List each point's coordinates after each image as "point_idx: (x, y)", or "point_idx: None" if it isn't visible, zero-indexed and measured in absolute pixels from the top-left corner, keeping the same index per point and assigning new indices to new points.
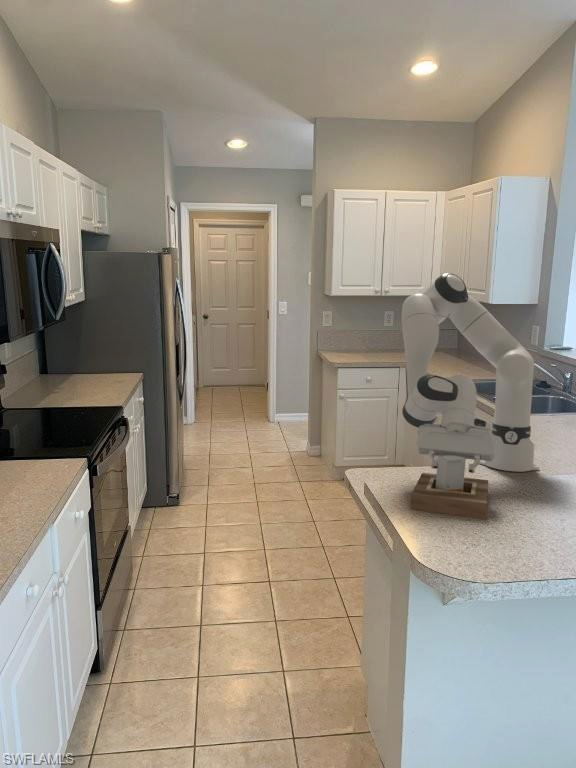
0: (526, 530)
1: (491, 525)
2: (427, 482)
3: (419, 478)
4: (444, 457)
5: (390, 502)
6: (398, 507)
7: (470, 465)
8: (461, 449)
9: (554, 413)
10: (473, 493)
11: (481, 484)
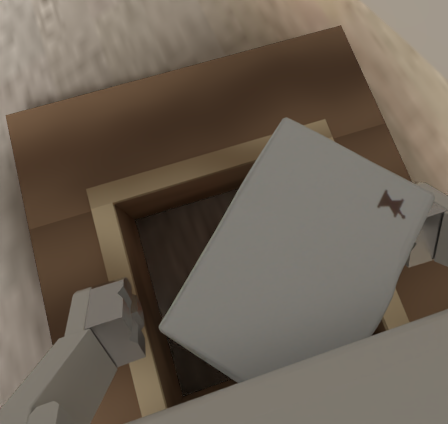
0: None
1: (14, 100)
2: None
3: None
4: (351, 177)
5: (416, 93)
6: (361, 62)
7: (109, 307)
8: (239, 413)
9: None
10: (98, 206)
11: None
